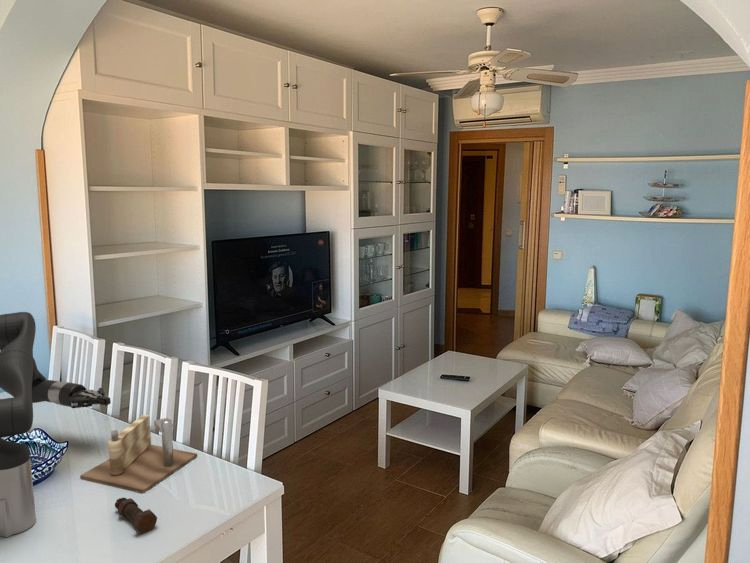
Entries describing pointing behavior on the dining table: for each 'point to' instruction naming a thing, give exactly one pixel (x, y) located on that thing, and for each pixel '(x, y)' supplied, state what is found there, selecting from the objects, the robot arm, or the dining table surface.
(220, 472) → the dining table surface
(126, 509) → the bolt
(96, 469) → the hinge base
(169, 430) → the post
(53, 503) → the dining table surface
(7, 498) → the robot arm
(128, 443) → the link
